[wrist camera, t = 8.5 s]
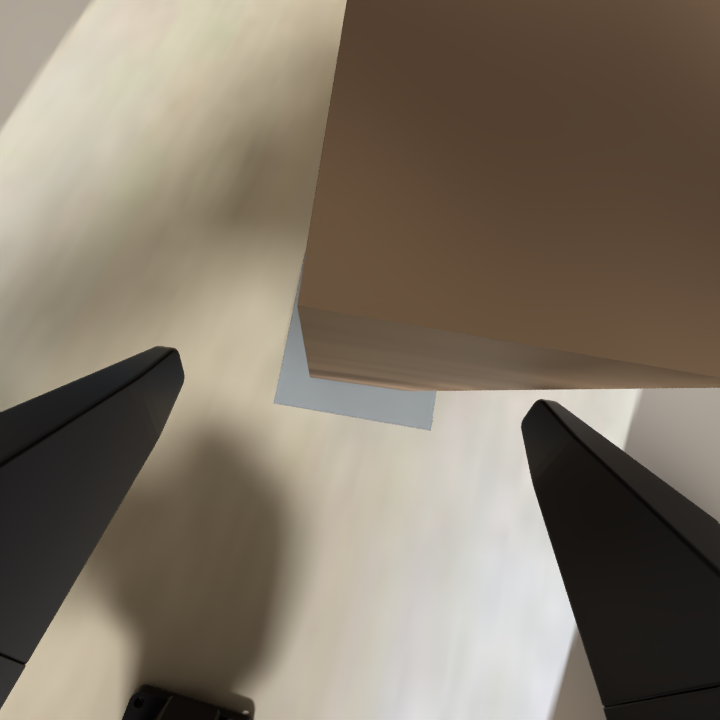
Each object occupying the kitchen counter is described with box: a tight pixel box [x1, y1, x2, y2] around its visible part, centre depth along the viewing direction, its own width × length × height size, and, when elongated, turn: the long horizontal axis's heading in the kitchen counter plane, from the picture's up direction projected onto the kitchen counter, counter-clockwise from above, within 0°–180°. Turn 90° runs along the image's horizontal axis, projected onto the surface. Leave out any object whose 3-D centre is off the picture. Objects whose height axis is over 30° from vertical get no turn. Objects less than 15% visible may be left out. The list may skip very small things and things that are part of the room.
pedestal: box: [274, 253, 436, 431], centre depth 18 cm, size 8×8×4 cm
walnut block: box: [297, 0, 720, 391], centre depth 10 cm, size 5×5×13 cm
